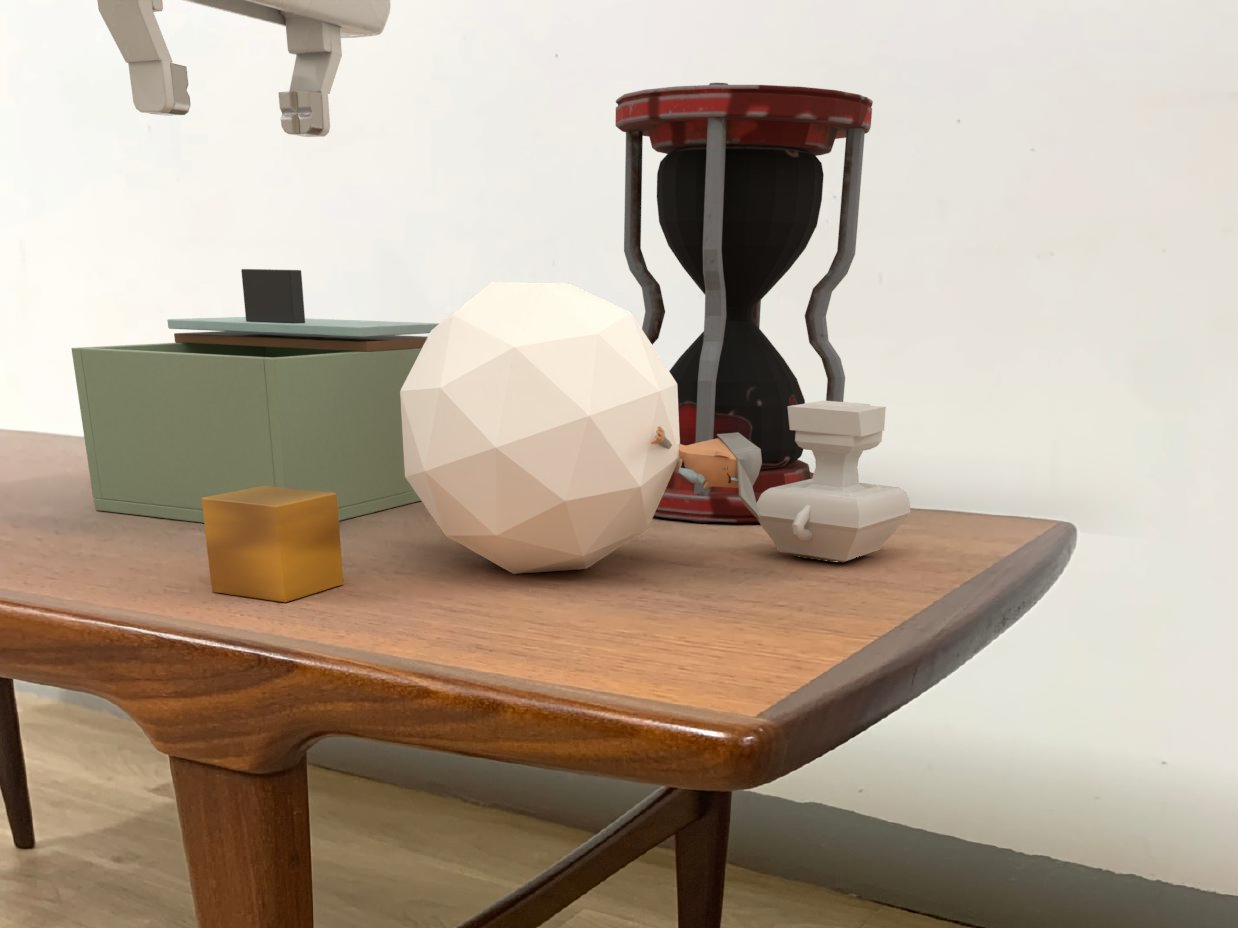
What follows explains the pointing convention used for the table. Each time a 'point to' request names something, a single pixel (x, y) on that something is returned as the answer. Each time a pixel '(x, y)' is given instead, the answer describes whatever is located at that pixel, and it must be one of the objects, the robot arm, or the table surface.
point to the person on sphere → (550, 429)
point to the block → (273, 542)
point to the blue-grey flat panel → (290, 312)
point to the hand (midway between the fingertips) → (239, 125)
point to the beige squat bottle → (833, 487)
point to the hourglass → (740, 256)
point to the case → (245, 419)
